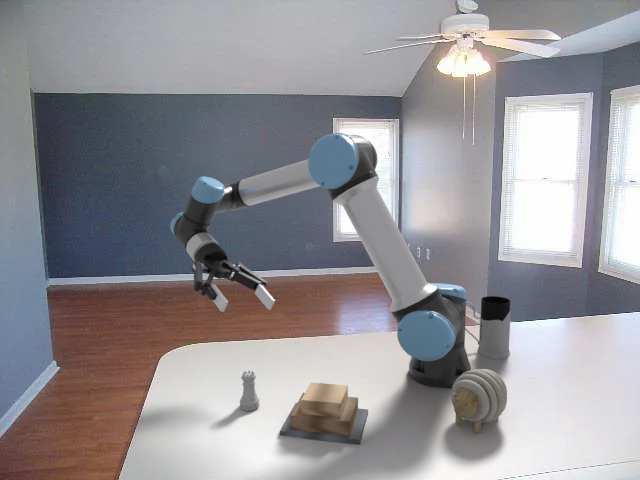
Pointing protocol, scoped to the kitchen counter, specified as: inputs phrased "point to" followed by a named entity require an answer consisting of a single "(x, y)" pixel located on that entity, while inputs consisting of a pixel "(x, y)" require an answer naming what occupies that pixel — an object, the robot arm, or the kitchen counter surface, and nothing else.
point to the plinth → (326, 415)
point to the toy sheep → (478, 397)
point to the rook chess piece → (249, 392)
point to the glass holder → (493, 327)
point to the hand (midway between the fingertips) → (249, 306)
